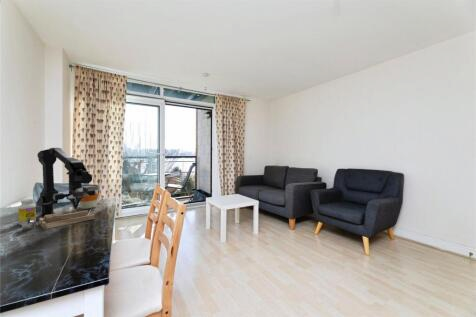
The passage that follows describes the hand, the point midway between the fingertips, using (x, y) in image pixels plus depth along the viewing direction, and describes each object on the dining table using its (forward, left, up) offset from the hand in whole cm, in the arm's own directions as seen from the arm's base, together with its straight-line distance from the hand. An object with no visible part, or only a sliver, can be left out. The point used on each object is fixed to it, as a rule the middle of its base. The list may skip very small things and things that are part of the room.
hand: (75, 209), depth 120 cm
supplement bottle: (-12, -19, -6) cm, 23 cm away
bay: (0, -4, -6) cm, 7 cm away
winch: (0, -19, -6) cm, 20 cm away
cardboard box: (0, -10, -6) cm, 12 cm away
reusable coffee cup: (-26, +14, -6) cm, 30 cm away
